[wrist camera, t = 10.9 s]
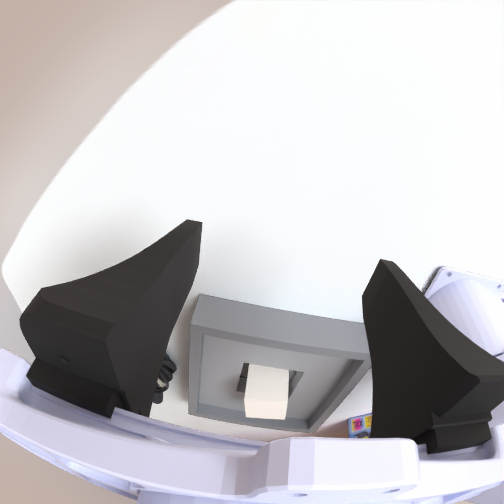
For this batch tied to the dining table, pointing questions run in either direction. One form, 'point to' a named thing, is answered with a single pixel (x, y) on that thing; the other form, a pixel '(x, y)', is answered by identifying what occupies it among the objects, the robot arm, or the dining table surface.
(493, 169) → the dining table surface
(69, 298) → the robot arm
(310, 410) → the walled box
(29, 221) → the dining table surface
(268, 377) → the white rectangular block
